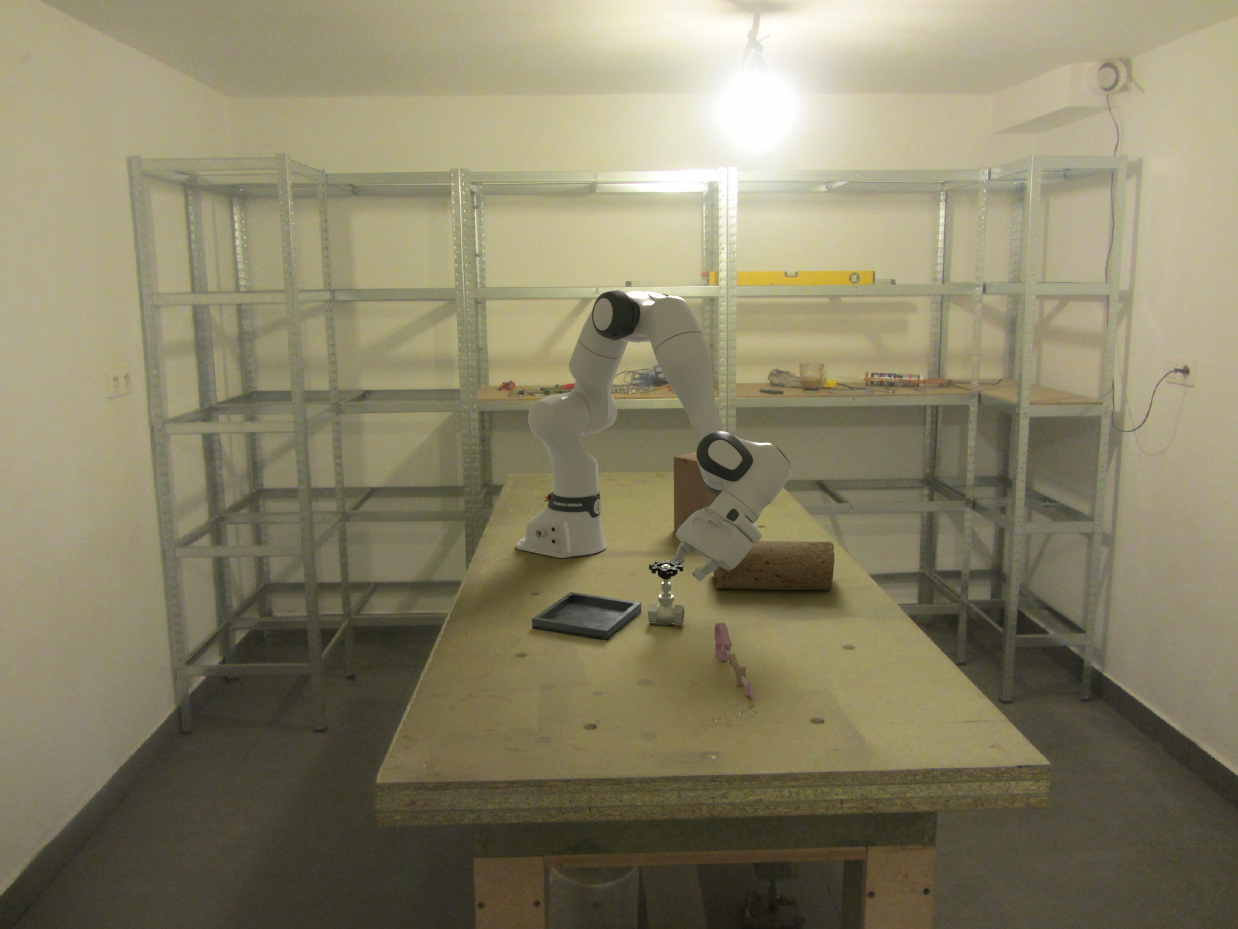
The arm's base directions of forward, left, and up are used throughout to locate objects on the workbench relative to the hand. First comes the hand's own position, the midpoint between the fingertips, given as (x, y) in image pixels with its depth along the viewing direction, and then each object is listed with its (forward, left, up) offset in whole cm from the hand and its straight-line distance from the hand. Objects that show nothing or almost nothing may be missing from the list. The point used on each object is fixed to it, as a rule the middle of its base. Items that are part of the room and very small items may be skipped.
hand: (685, 571), depth 175 cm
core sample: (+10, +27, -11) cm, 31 cm away
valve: (-3, -3, -10) cm, 11 cm away
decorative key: (+17, -20, -11) cm, 28 cm away
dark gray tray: (-18, -7, -10) cm, 22 cm away
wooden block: (-19, +61, -10) cm, 65 cm away
